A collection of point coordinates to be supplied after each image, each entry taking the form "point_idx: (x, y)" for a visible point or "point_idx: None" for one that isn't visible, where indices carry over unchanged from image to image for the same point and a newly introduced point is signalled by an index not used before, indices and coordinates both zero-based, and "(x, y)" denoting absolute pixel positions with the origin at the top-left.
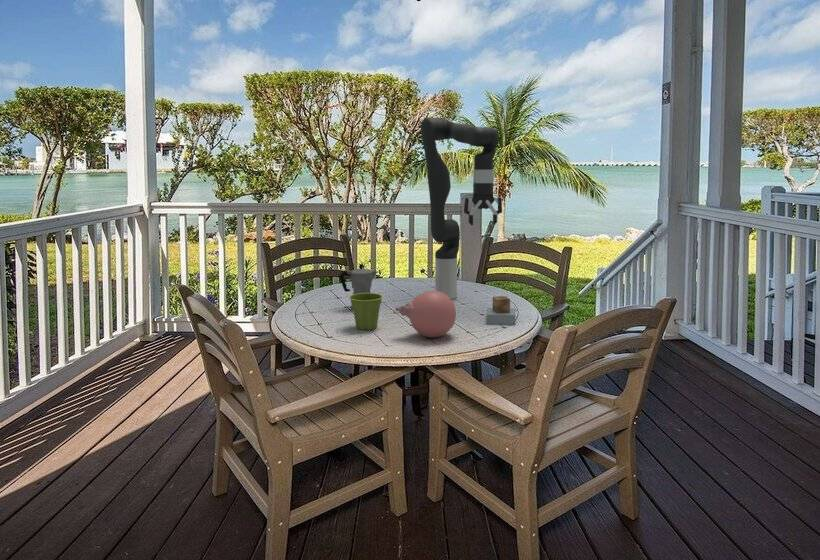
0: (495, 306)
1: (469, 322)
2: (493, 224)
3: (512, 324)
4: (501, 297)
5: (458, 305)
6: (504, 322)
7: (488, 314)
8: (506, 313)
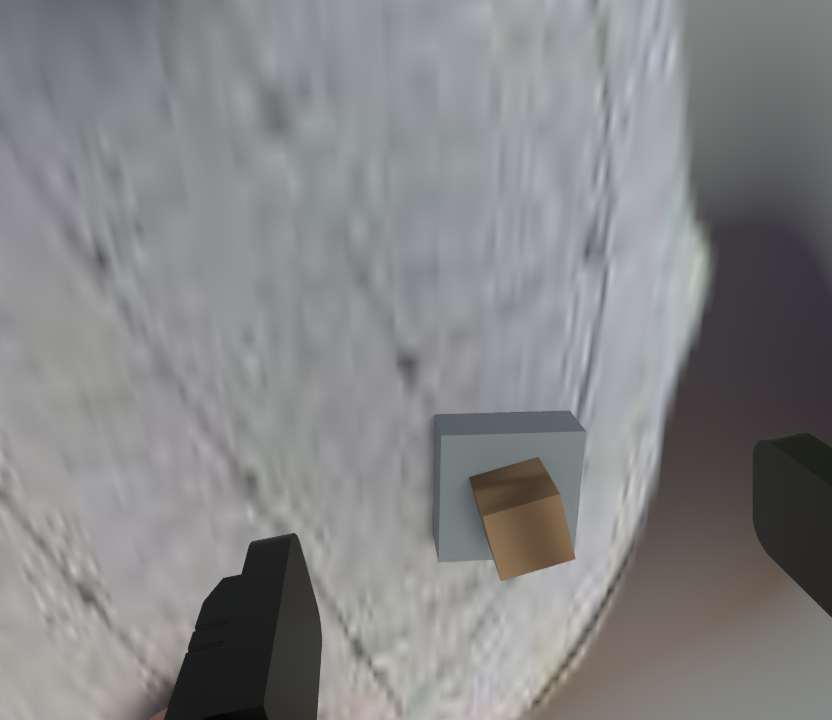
0: (488, 542)
1: (353, 516)
2: (758, 538)
3: None
4: (531, 530)
5: (250, 160)
6: None
7: (447, 560)
8: None
